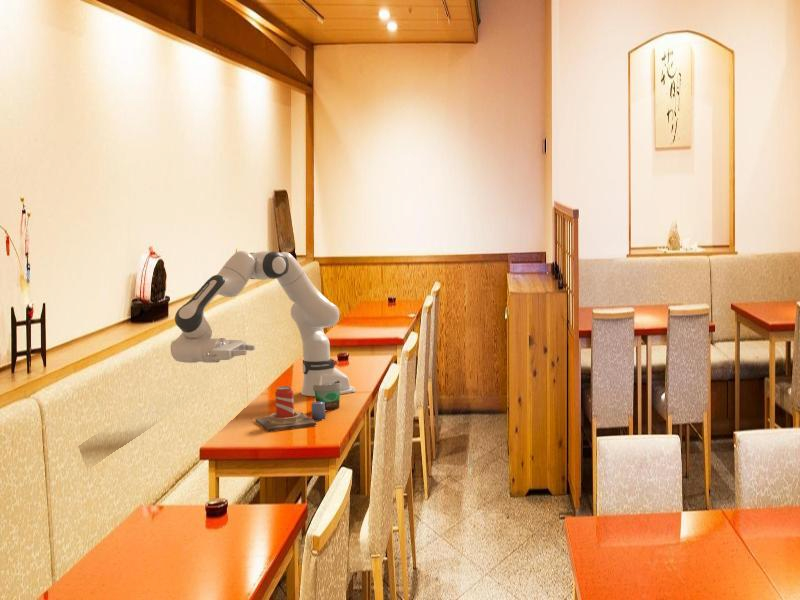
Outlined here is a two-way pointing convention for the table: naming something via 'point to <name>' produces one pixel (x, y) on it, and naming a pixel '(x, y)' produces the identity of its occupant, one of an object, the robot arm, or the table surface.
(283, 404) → the beverage can
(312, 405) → the lavender rounded cylinder
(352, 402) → the table surface
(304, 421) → the square plate with ring
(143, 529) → the table surface
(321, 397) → the food container
